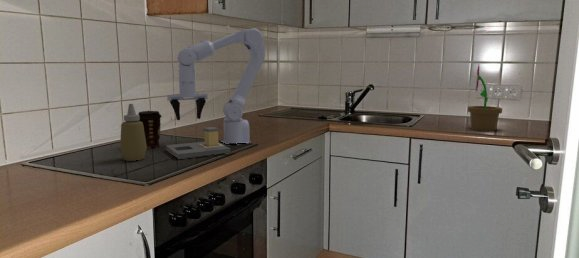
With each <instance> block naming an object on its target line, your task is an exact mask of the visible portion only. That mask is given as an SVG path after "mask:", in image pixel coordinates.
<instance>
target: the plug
mask: <svg viewBox="0 0 579 258" xmlns="http://www.w3.org/2000/svg"><path fill="white" fill-rule="evenodd" d="M203 137H204V141H203V142H205V146H206V147H211V146H219V145H218V142H219V128H218V127H216V126H215V127H214V126H209V127H208V126H207V127H203Z"/></svg>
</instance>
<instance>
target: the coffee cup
mask: <svg viewBox="0 0 579 258" xmlns="http://www.w3.org/2000/svg"><path fill="white" fill-rule="evenodd" d="M137 115H139V116H140V120H139V121H141V122H142V123H143V126H144V133H145V139H146V145H147V149H152V148H151V147H155V148H158V146H159V147H160V139H161V125H162V124H161V118H162V117H163V115H161V113H160V112H159V110H143V111H139V112H138V114H137Z"/></svg>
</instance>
